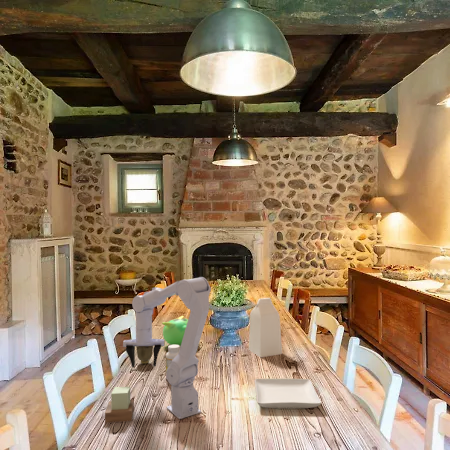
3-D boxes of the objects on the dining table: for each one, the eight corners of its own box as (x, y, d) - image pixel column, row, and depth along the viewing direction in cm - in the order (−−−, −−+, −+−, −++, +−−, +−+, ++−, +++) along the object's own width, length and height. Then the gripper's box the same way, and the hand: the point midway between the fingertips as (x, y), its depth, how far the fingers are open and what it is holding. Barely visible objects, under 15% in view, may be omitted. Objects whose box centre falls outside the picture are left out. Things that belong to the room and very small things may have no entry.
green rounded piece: (200, 341, 204) (200, 313, 204) (194, 351, 187) (194, 321, 187) (167, 340, 206) (167, 313, 206) (158, 350, 189) (158, 320, 189)
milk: (260, 357, 178) (259, 301, 178) (248, 350, 188) (248, 297, 188) (282, 353, 183) (281, 299, 183) (269, 347, 193) (269, 295, 193)
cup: (156, 363, 171) (156, 345, 171) (142, 367, 165) (142, 349, 166) (146, 359, 176) (146, 342, 176) (133, 363, 171) (133, 345, 171)
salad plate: (254, 386, 146) (254, 377, 146) (310, 386, 145) (310, 377, 145) (256, 413, 124) (256, 402, 124) (322, 413, 124) (322, 403, 124)
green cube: (127, 408, 120) (127, 392, 121) (111, 409, 120) (111, 393, 120) (130, 401, 125) (130, 386, 126) (114, 402, 125) (114, 387, 125)
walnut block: (131, 422, 119) (131, 410, 119) (105, 424, 118) (104, 412, 118) (133, 410, 127) (133, 399, 127) (109, 412, 126) (109, 401, 126)
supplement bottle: (174, 373, 158) (174, 342, 158) (185, 377, 154) (185, 345, 154) (162, 378, 153) (162, 346, 153) (173, 382, 149) (173, 349, 149)
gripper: (165, 325, 142) (165, 361, 142) (125, 325, 142) (126, 362, 141) (163, 330, 135) (163, 368, 135) (121, 330, 135) (121, 369, 134)
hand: (144, 366), depth 138 cm, fingers open, 7 cm apart
